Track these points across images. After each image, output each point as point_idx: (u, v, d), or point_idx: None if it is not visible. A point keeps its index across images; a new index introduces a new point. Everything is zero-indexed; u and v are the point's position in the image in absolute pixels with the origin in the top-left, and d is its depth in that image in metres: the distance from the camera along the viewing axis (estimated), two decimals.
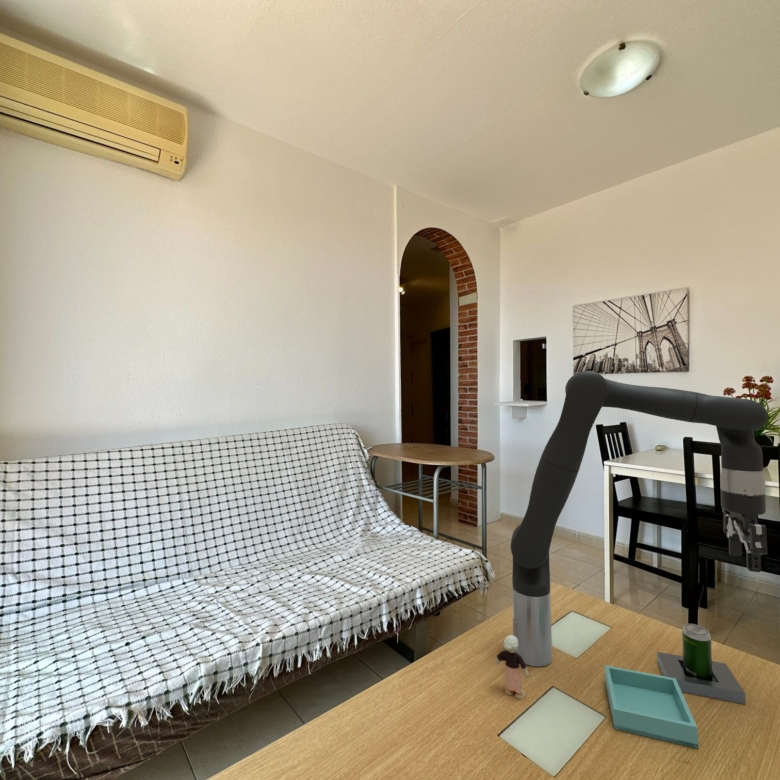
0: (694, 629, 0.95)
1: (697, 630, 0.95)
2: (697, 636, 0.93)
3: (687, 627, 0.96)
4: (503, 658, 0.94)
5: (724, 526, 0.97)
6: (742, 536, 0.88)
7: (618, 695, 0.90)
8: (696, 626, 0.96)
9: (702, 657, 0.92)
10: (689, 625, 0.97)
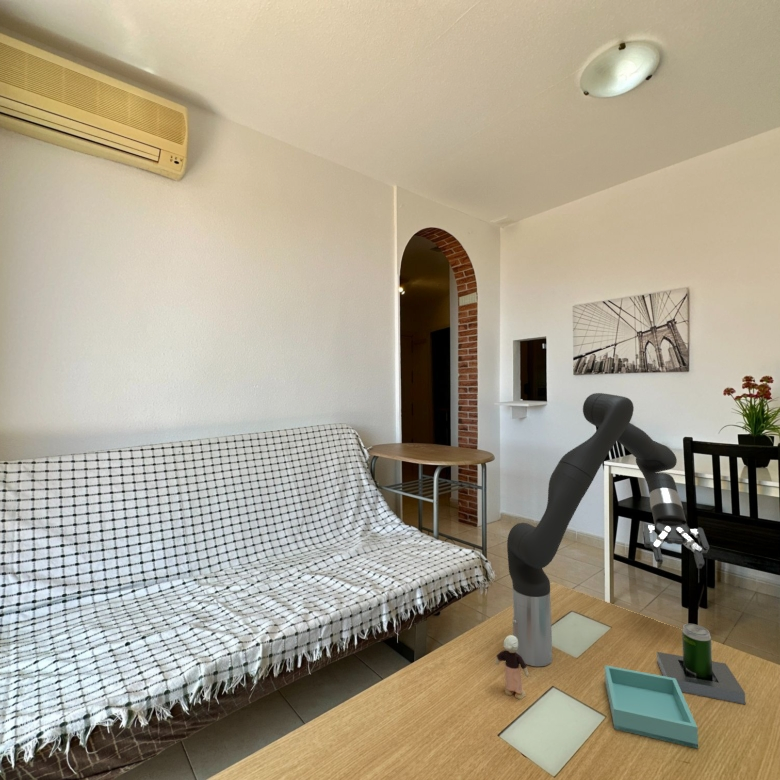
0: (694, 629, 0.95)
1: (697, 630, 0.95)
2: (697, 636, 0.93)
3: (687, 627, 0.96)
4: (503, 658, 0.94)
5: (647, 538, 1.11)
6: (691, 538, 1.08)
7: (618, 695, 0.90)
8: (696, 626, 0.96)
9: (702, 657, 0.92)
10: (689, 625, 0.97)
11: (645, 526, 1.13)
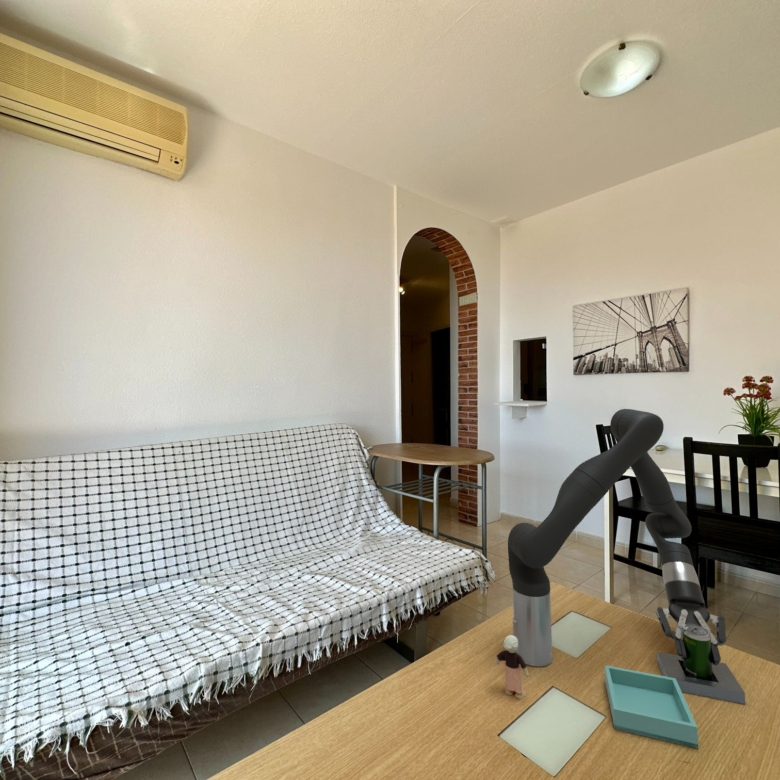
0: (694, 629, 0.95)
1: (697, 630, 0.95)
2: (697, 636, 0.93)
3: (687, 627, 0.96)
4: (503, 658, 0.94)
5: (667, 627, 0.98)
6: (708, 627, 0.96)
7: (618, 695, 0.90)
8: (696, 626, 0.96)
9: (702, 657, 0.92)
10: (689, 625, 0.97)
11: (660, 611, 1.01)
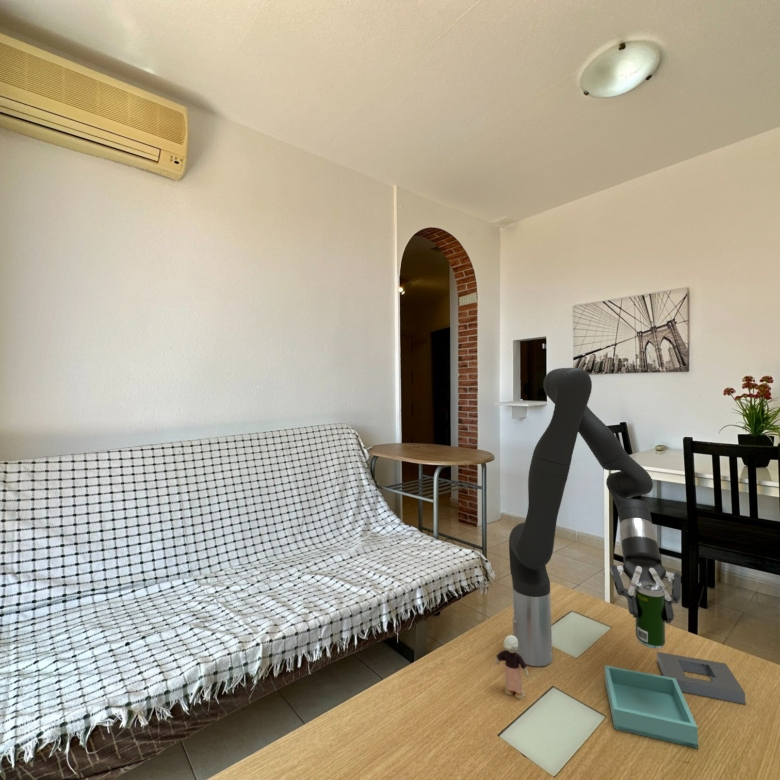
0: (647, 585, 0.88)
1: (650, 586, 0.88)
2: (650, 592, 0.86)
3: (640, 583, 0.89)
4: (503, 658, 0.94)
5: (620, 584, 0.91)
6: (663, 584, 0.89)
7: (618, 695, 0.90)
8: (650, 583, 0.89)
9: (654, 615, 0.85)
10: (643, 582, 0.90)
11: (613, 568, 0.94)
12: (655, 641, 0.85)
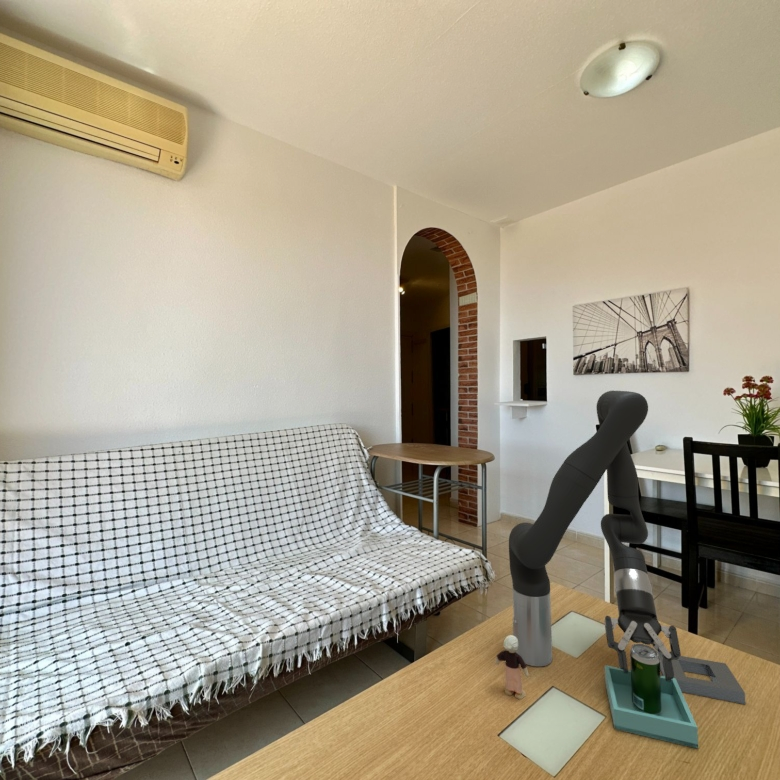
0: (642, 650, 0.87)
1: (645, 652, 0.86)
2: (644, 659, 0.84)
3: (635, 648, 0.87)
4: (503, 658, 0.94)
5: (610, 637, 0.90)
6: (660, 640, 0.87)
7: (618, 695, 0.90)
8: (645, 647, 0.88)
9: (649, 683, 0.84)
10: (638, 646, 0.88)
11: (607, 620, 0.93)
12: (651, 709, 0.84)
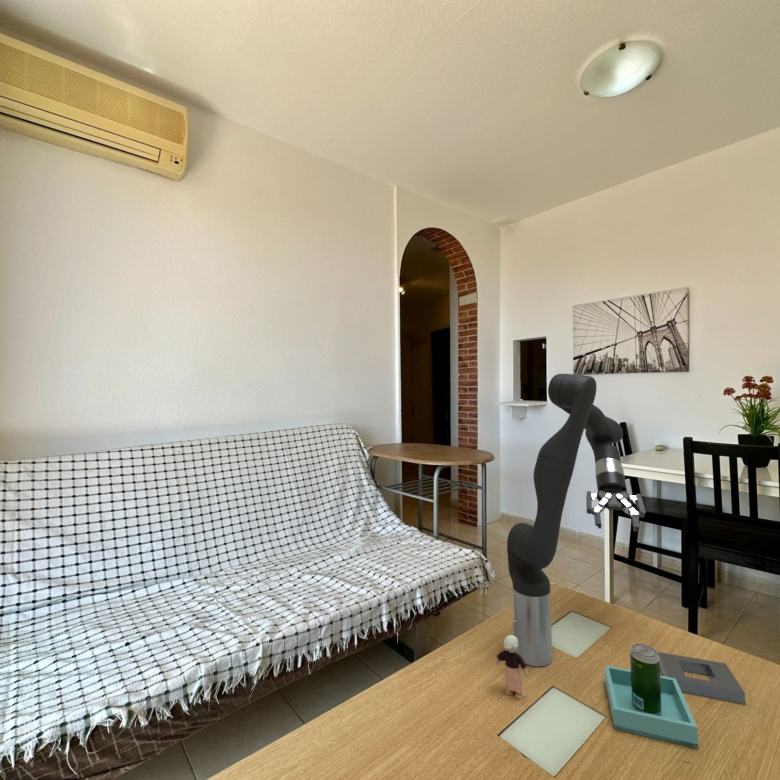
0: (642, 650, 0.87)
1: (645, 651, 0.87)
2: (644, 658, 0.85)
3: (635, 648, 0.88)
4: (503, 658, 0.94)
5: (589, 504, 1.16)
6: (629, 503, 1.12)
7: (618, 695, 0.90)
8: (645, 646, 0.88)
9: (649, 682, 0.84)
10: (638, 645, 0.88)
11: (588, 493, 1.18)
12: (651, 709, 0.84)
